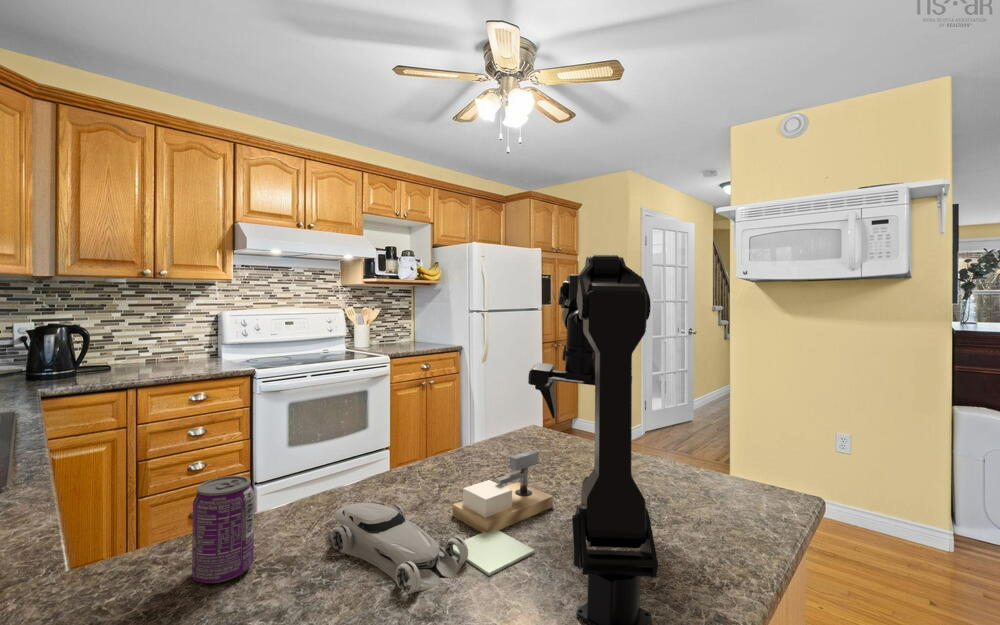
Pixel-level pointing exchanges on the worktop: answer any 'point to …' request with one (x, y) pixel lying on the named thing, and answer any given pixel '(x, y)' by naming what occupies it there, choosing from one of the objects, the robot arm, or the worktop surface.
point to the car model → (396, 545)
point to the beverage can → (222, 529)
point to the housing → (520, 510)
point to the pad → (494, 551)
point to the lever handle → (522, 464)
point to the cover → (487, 498)
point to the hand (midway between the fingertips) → (577, 421)
